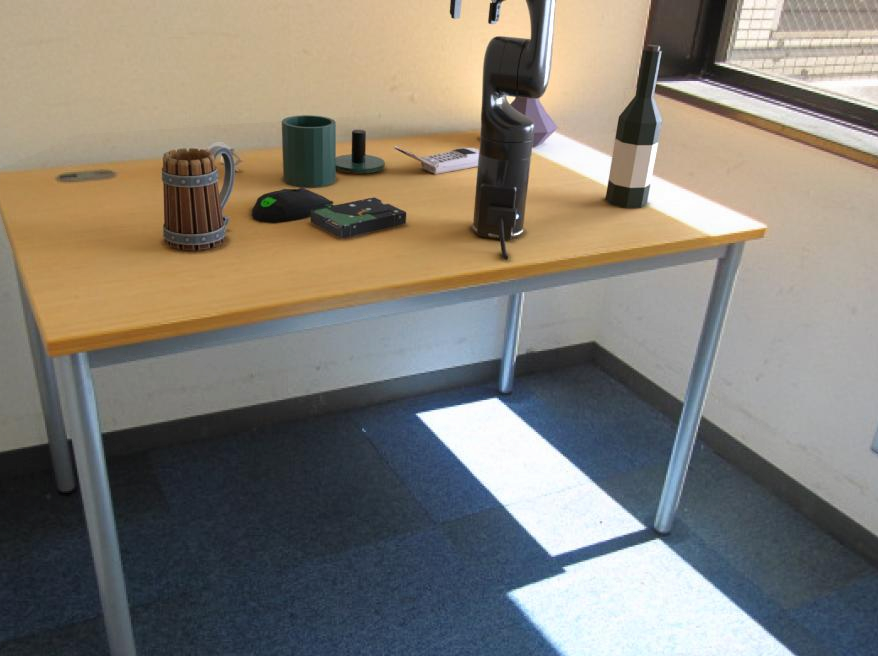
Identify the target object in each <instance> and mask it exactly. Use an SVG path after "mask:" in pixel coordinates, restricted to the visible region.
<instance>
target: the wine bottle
mask: <svg viewBox="0 0 878 656" xmlns="http://www.w3.org/2000/svg"><path fill="white" fill-rule="evenodd" d="M662 52H663V51H662V50H661V46H660V45H658V44H646V45H645V48H644V49H642V54H641V61H640V66H639V72H638V78H637V85H636V90H635V95H634V97H632V99H631V101H629V103H628V104H627V105H626V107H625V108H624V110H622V112H621V113H620V114H619V116H618V118H617V119H618V120H617V125H616V130H615V132H616V133H615V137H614V144H613V150H612V156H611V161H610V167H609V173H608V174H609V175H608V180H607V187H606V193H605V199H604V200H605V201H606V202H607V203H608V204H609V205H612V206H616V207H619V208H624V209H641V208H643V207H645V206H646V205H647V204H648V199H649V195H650V188H651V183H652V178H653V173H654V167H655V162H656V157H657V151H658V147H659V140H660V136H661V131H662V124H663V118H662V116H661V113H660V110H659V108H658V105H657V103H656V102H657V101H656V100H655V98H654V97H655V90H656V85H657V79H658V75H659V69H660V63H661V57H662Z"/></svg>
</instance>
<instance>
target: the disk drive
mask: <svg viewBox="0 0 878 656" xmlns="http://www.w3.org/2000/svg"><path fill="white" fill-rule="evenodd" d="M309 218H310V223H311V224H313V225H314V226H315V227H318V228H319V229H321V230H323V231H324V232H327V233H329V234H330V235H332V236H334V237H337V238H338V239H348V238H353V237H357V236H362V235H366V234H370V233H374V232H379V231H384V230H389V229H392V228H397V227H400V226H403V225H406V223H407V211H406V210H403V209H401V208H398V207H396V206H394V205H392V204H390V203H383V202H382V200H381V199H379V198H377V197H368V198H363V199H359V200H353V201H349V202H344V203H339V204H333V206H330V207H323V208H319V209H314V210H310V217H309Z"/></svg>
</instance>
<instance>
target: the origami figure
mask: <svg viewBox="0 0 878 656" xmlns="http://www.w3.org/2000/svg"><path fill="white" fill-rule="evenodd" d="M214 146H221V147H225V148H227V149H229V150H230V151H231V153H232V155H233V157H235V158H236V159H237V160H236V161H234V163H235V167H236V166H237V165H239V164H240V163H242V162H243V161H244V160H243V159H242V158H241V156H239V154H237V153H236V152H235V148H234V147H232V146H230V145H228V144H225V143H224V142H221V141H216V142H214V143H212V144H210V145H209V146H208V147H206V148H205V150H207V152H208V151H209V150H210V149H211V148H212V147H214ZM219 161H220V162H221V163H222V164H224V160H223V156H222V155H221V154H220V158H219ZM235 172H237V173H239V172H240V171H239V170H238V169H237V168H235Z"/></svg>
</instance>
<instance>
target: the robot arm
mask: <svg viewBox="0 0 878 656" xmlns="http://www.w3.org/2000/svg"><path fill="white" fill-rule="evenodd" d="M490 1H491V2H489V7H488V8H489V9H488V17H487V18H488V20H487V24H489V25H496V24H497V23H498V21H499V20H500V16H501V8H502V7H501V6H502V3H503V2H505V1H506V0H490ZM449 2H450V3H449V15H450V17H451V19H455V20H457V19H461V11H462V0H450V1H449ZM525 2H526V6H527V10H528V15H529V21H530V23H529V24H530V38H523V37H513V36H504V35H503V36H502V35H498V36H494V37H492V38H491V39H490V40H489V42H488V44H487V46H486V48H485V52H484V57H483V65H482V82H481V83H482V86H481V87H482V88H481V95H482V96H481V110H480V137H479V147H478V148H479V149H478V150H479V158H478V166H477V172H476V183H475V195H474V197H475V198H474V206H473V207H474V209H473V219H472V224H471V225H472V226H471V228H472V229H471V230H472V231H473V233H475V234H476V237H480V238H488V239H495V240H496V239H497V240H499V242H500V244H499V245H500V249H501V255H502V257H503V260H505V261H506V260H508V259H509V256H508V253H507V248H506V241H511V240H512V239H515V238H518V237H521V236H522V235H523V234H524V231H525V229H524V224H525V217H526V216H525V215H526V207H527V198H528V188H529V180H530V179H529V178H530V169H531V162H532V161H531V160H532V152H533V147H532V145H533V137H534V128H535V126H534V122H533V121H532V120H531V119H530V118H529V117H527V116H525V115H523V114H522V113H520V112H518V111H517V110H516V109H514V108H513V107H512V106H511V105H510V104H511V103H510V102H509V101H508V99H507V97H512V98H515V97H520V98H529V99H538V98H539V99H541V98H542V97H543V96H544V94H545V93H546V91H547V88H548V86H549V82H550V77H551V70H552V61H553V46H554V35H555V33H554V31H555V19H556V18H555V17H556V5H557V4H556V3H557V0H525Z"/></svg>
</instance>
